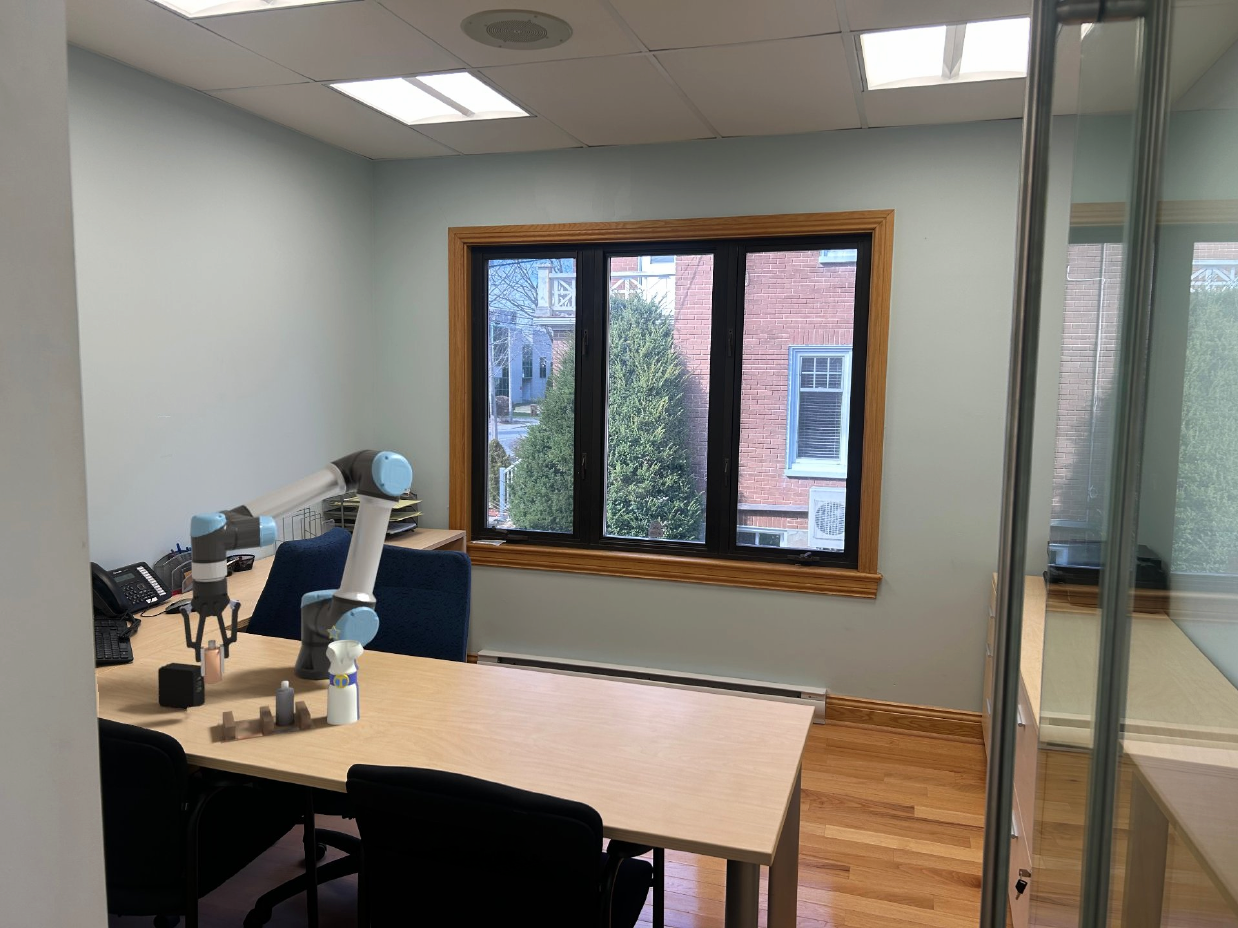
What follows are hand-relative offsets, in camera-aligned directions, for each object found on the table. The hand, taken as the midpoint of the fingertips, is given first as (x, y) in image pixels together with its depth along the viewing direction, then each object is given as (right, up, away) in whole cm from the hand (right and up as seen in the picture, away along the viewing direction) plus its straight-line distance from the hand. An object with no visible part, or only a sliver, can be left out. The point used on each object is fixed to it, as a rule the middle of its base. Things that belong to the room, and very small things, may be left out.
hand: (212, 672), depth 201 cm
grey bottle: (+19, -11, -5) cm, 23 cm away
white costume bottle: (+32, -12, -1) cm, 34 cm away
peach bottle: (0, -2, 0) cm, 2 cm away
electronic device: (-11, -10, +7) cm, 17 cm away
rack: (+16, -12, -6) cm, 21 cm away
